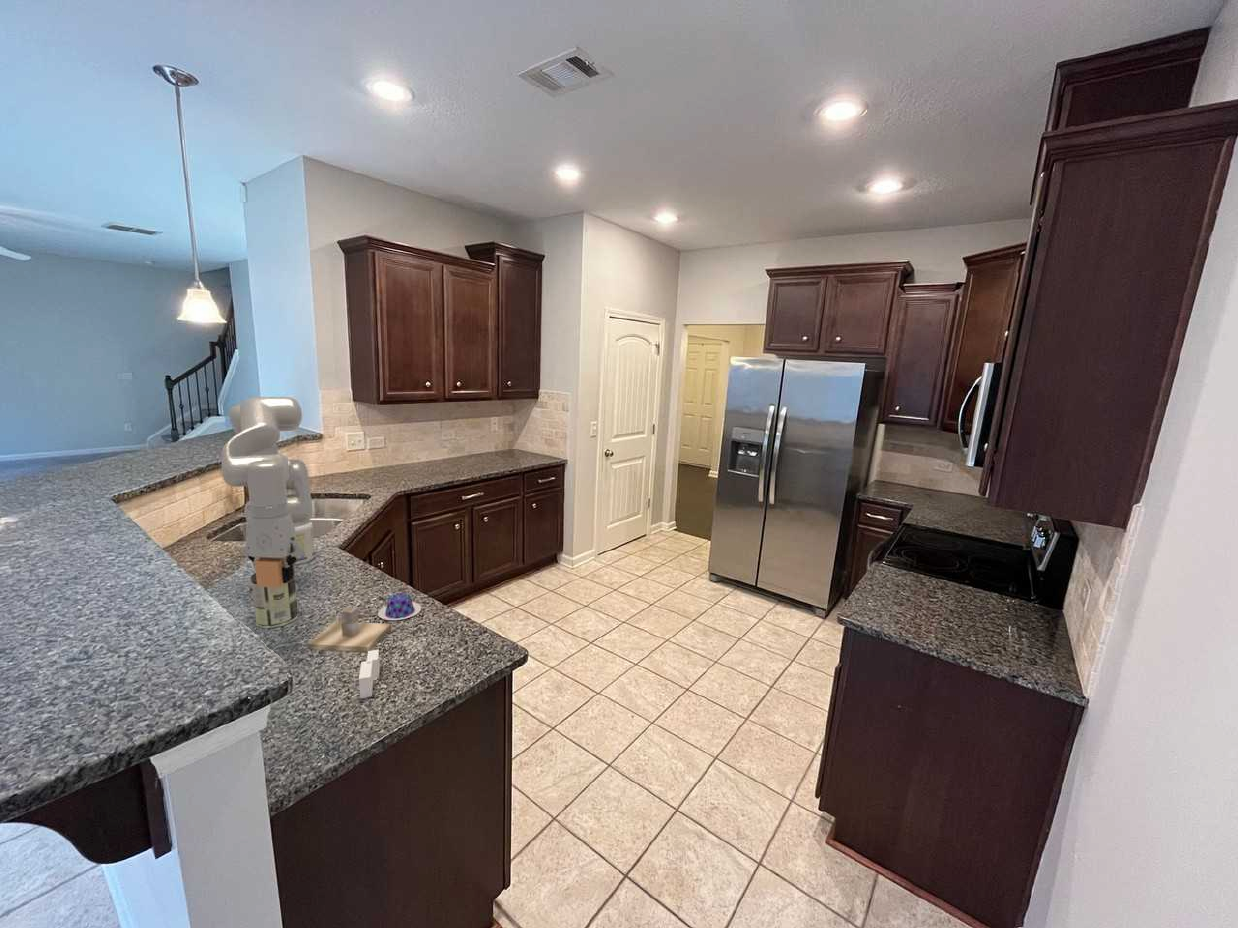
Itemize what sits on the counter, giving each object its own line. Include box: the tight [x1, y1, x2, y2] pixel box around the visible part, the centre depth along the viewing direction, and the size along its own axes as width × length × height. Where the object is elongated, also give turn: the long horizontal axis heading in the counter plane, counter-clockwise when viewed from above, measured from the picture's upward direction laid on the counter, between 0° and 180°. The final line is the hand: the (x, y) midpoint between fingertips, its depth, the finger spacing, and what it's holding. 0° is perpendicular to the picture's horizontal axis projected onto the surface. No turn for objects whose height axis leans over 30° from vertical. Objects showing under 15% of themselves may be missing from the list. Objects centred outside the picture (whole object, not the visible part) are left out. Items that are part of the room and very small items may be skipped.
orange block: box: [255, 557, 296, 588], centre depth 126 cm, size 6×6×7 cm
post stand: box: [307, 606, 392, 653], centre depth 136 cm, size 16×12×8 cm
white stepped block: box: [358, 649, 381, 699], centre depth 119 cm, size 15×11×6 cm
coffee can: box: [250, 570, 299, 629], centre depth 144 cm, size 10×10×14 cm
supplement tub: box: [292, 520, 316, 566], centre depth 187 cm, size 12×12×17 cm
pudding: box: [377, 592, 422, 621], centre depth 152 cm, size 12×12×5 cm
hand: (276, 579), depth 127 cm, fingers closed on orange block, 5 cm apart
